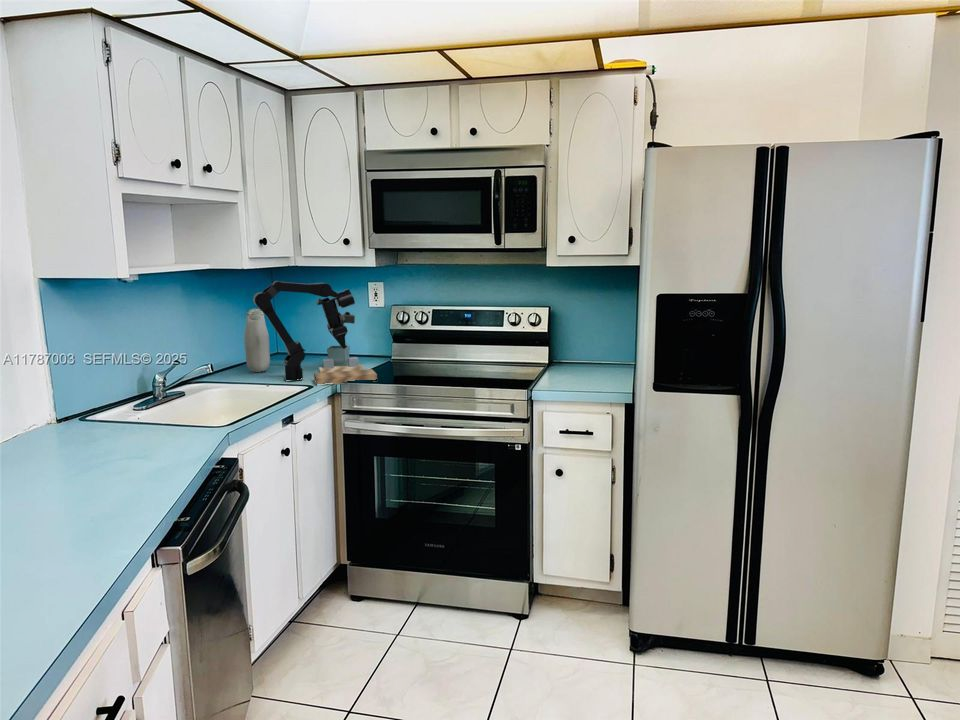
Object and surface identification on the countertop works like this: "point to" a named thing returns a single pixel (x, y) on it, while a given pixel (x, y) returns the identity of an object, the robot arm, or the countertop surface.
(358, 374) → the dock
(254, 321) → the grey bottle
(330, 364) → the crate
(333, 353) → the flower pot
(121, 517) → the countertop surface
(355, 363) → the crate
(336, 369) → the light wooden block
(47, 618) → the countertop surface
